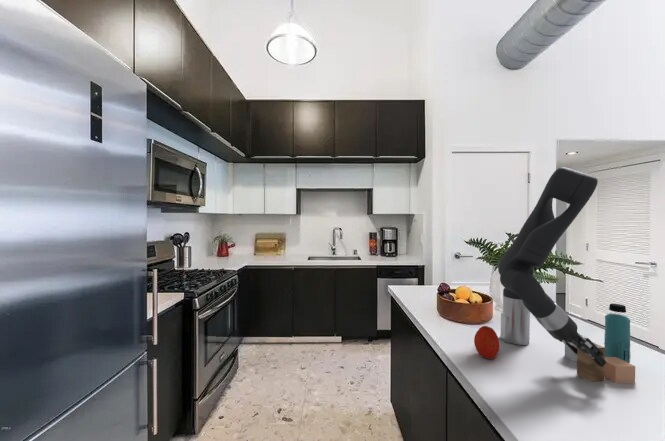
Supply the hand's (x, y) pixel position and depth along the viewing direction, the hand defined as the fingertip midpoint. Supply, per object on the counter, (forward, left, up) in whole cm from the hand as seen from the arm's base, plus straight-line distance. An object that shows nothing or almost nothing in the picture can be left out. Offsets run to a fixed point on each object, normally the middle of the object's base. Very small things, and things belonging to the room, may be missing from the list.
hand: (590, 357), depth 94 cm
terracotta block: (+8, +2, -6) cm, 10 cm away
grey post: (+3, +14, -6) cm, 16 cm away
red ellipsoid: (-27, +8, -6) cm, 29 cm away
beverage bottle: (+14, +12, -6) cm, 19 cm away
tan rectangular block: (0, 0, -6) cm, 6 cm away
